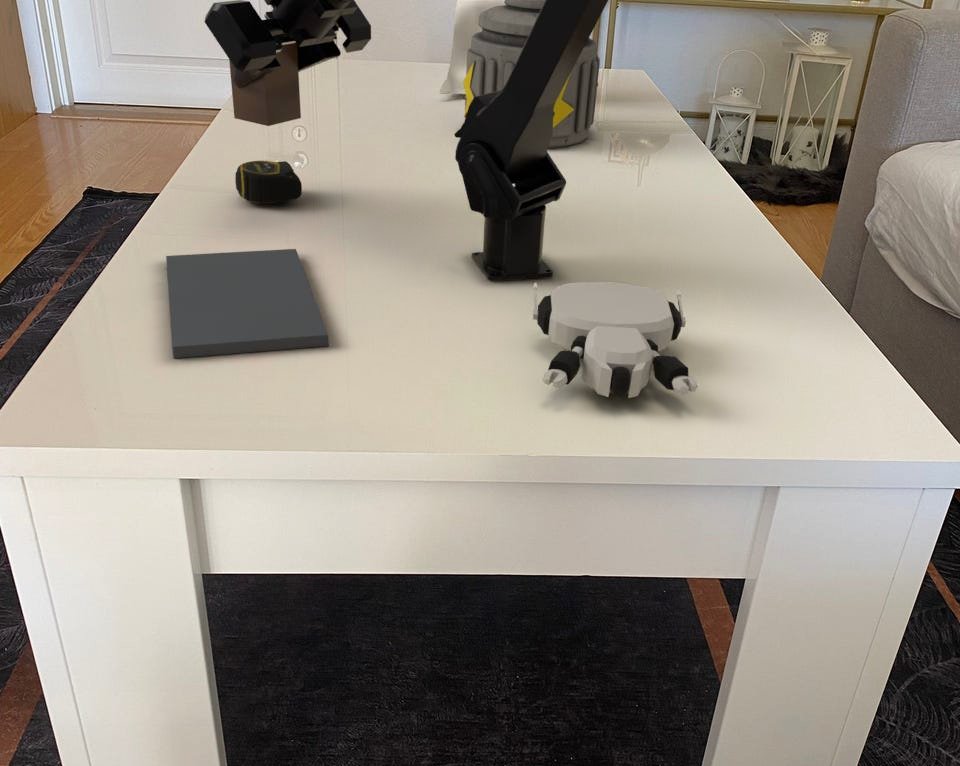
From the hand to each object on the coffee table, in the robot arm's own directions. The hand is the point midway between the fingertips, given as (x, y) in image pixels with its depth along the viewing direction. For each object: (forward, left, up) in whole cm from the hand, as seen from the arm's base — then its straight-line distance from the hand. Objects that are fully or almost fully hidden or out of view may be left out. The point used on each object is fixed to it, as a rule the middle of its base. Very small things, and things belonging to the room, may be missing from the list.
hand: (255, 80), depth 104 cm
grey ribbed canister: (+25, -40, -13) cm, 49 cm away
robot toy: (-48, -22, -13) cm, 54 cm away
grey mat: (-30, +5, -12) cm, 33 cm away
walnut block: (-1, -1, -4) cm, 4 cm away
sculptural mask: (+56, -52, -6) cm, 77 cm away
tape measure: (-1, -1, -13) cm, 13 cm away
